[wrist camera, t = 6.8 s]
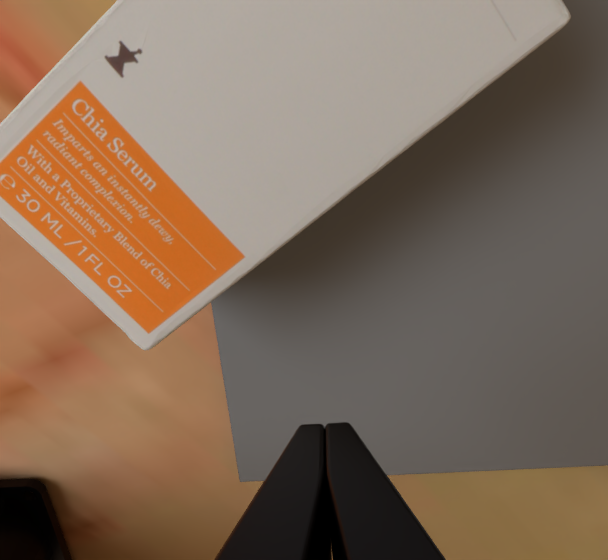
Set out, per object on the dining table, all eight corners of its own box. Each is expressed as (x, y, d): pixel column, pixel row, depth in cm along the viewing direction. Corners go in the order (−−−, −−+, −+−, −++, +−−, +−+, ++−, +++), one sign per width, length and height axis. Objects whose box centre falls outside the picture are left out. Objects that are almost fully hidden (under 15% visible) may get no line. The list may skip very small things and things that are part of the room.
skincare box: (-60, 180, 12) (391, -312, 9) (31, 142, 16) (365, -206, 13) (148, 364, 14) (583, 18, 10) (184, 290, 18) (509, 21, 14)
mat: (719, 448, 21) (730, 459, 20) (241, 470, 22) (240, 482, 21) (900, -139, 13) (925, -146, 13) (156, -74, 14) (150, -78, 14)
